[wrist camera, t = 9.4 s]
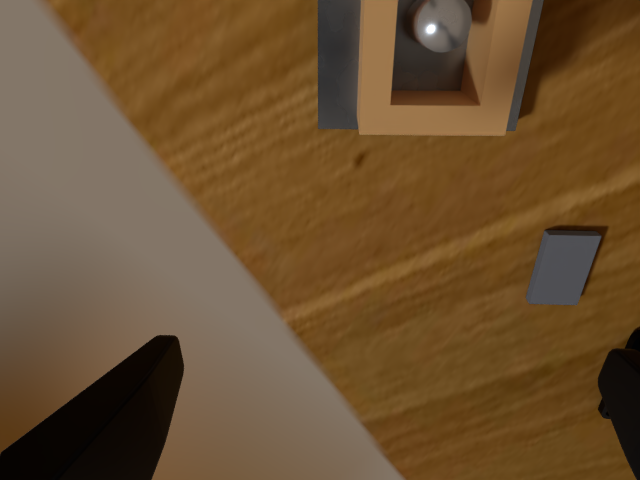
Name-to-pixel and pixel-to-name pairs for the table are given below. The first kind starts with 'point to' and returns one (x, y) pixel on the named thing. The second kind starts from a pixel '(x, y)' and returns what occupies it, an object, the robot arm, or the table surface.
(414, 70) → the plate
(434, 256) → the table surface
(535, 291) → the grey rectangular block
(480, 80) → the link
